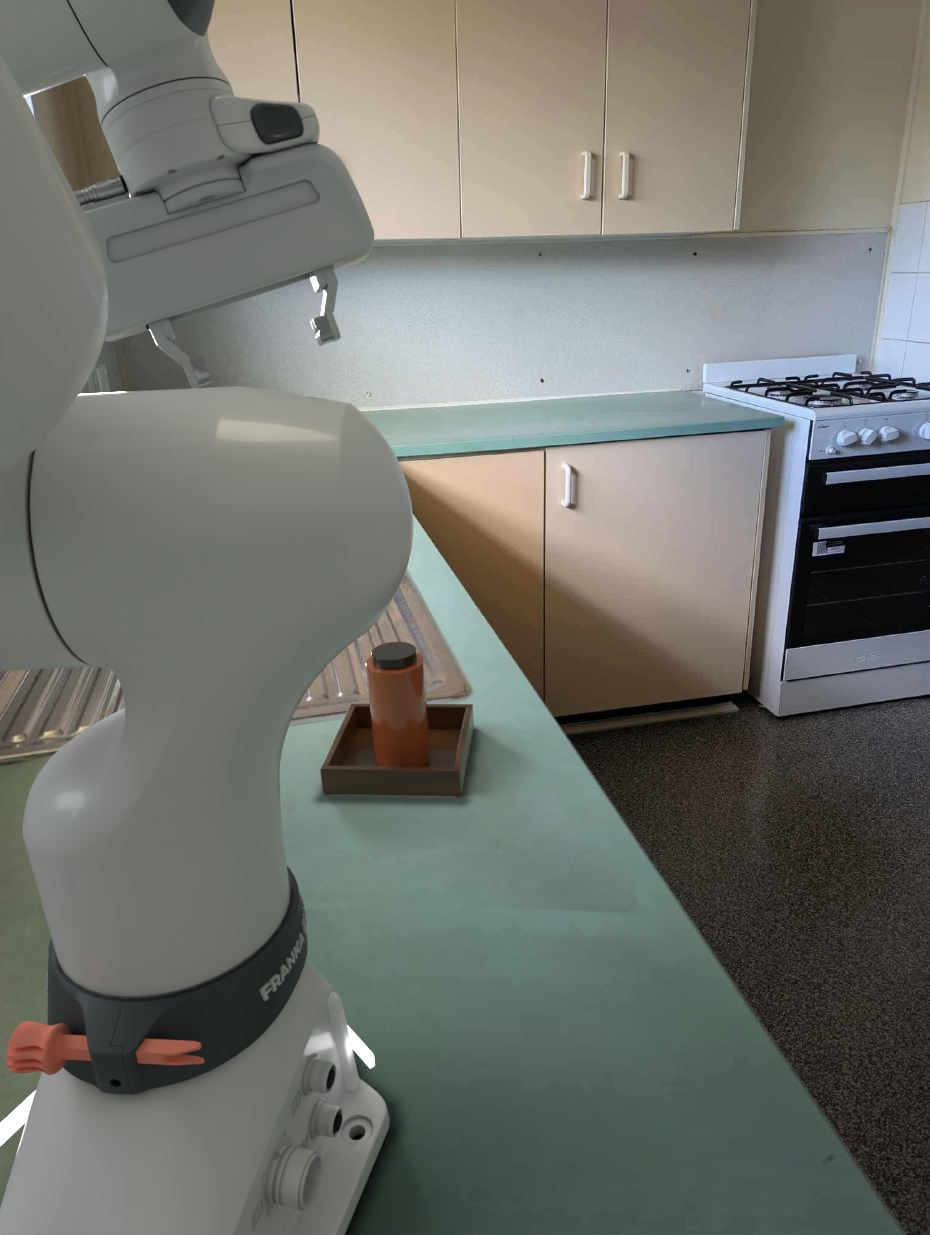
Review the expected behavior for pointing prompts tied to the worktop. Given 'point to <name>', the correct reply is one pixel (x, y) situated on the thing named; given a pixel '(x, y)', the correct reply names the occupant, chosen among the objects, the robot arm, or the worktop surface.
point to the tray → (360, 775)
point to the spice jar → (398, 705)
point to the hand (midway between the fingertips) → (267, 363)
